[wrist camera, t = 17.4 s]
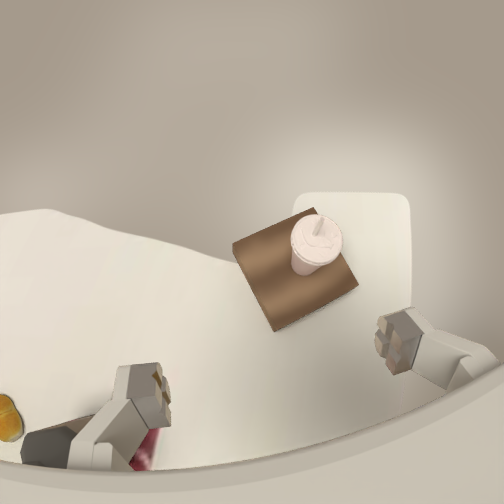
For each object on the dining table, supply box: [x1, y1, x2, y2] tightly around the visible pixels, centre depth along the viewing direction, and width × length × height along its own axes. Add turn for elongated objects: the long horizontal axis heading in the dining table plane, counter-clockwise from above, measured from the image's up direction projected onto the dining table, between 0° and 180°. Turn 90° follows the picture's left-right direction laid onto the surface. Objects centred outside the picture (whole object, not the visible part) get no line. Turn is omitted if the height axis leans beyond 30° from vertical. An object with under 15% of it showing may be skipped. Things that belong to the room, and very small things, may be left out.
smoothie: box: [291, 214, 343, 276], centre depth 41 cm, size 6×6×14 cm
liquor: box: [20, 414, 129, 469], centre depth 26 cm, size 9×9×30 cm
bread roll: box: [0, 394, 23, 442], centre depth 38 cm, size 8×9×4 cm
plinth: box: [233, 207, 359, 332], centre depth 49 cm, size 14×14×4 cm
